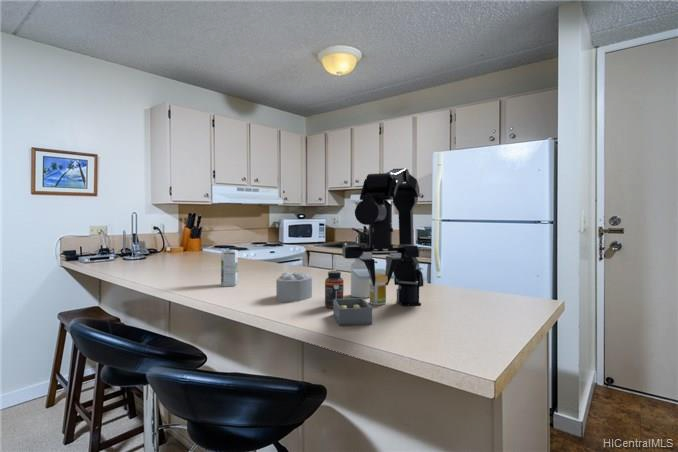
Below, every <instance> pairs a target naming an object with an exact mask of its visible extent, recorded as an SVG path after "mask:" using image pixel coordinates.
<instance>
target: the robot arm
mask: <svg viewBox="0 0 678 452" xmlns="http://www.w3.org/2000/svg"><path fill="white" fill-rule="evenodd" d="M420 193H421V192H420V185H419V183H418V180H417V178H415V176H413V175H412V174H411V173H410V172H409V169H408V168H405V167H403V168H393V169H391V170H389V171H387V172H385V173H384V172H383V173H382V172H381V173H368V174H367V175H366V177H365V179H364V181H363V185H362V188H361V191H360V195H359V200H360V201H359V203H357V204H356V207H355V209H354V216H355V219H356V220H357V221H358V222H359V223H360V224H362V225H365V226H368V229H367V230H368V232H366V231H359V232H358V233H357V235H358V236H357V242H358V244H344V245H343V246H342V248H341V257H343V258H344V259H347V260H349V259H354V260H355V258H359V260H361V261H362V262H364V263H365V265H366V267H367V269H368V272H369V276H370V279H371V282H372V285H373V286H375V269H376V265H375V259H374V258H373V256H380V255H381V256H383V255H384V256H385V264H386V265H385V270H386V273H385V275H387V276H388V283H385V285H386V286H388V285H389V283H390V281H391V280H392V279H391V276H392V274H393V275H394V276H395V279H393V282H394V283H393V284H394V286H397V288H396V302H397V304H399V305H401V306H403V307H406V306H421V305H422V303H421V302H420V288H421V287H424V275H423V272H422V269H421V268H420V261H419V260H418V258H420V249H419V247H418V245H415V243H414V215H413V214H414V209H415V207H416V205H417V204H418V201H419V197H420ZM393 205H394V208H396V211H397V212H398V235H399V236H398V237H399V238H398V240H399V241H398V243H399V244H398V245H397V247H396V246H395V247H393V246H394V244H393V237H392V236H393V233H394V228H393ZM361 246H365V247H361ZM386 255H387V256H386Z"/></svg>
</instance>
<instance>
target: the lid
mask: <svg viewBox="0 0 678 452" xmlns="http://www.w3.org/2000/svg"><path fill="white" fill-rule="evenodd" d="M352 273H353V274H354V275H355V276H356V277H357V278H358V279H359V280H366V279H370V276H369V272H368V269H352ZM385 273H386V268H375V283H388V276H387V275H385ZM394 279H395V276H394V273H393V274H392V276H391V279H390V280H394ZM388 284H389V283H388Z"/></svg>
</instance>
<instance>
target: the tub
mask: <svg viewBox="0 0 678 452" xmlns="http://www.w3.org/2000/svg"><path fill="white" fill-rule="evenodd" d="M332 309H333V312H332V313H333V316H334V318H335V321H336V322H337V324H338V326H339V327H344V326H345V327H347V326H348V327H350V326H365V325H366V326H367V325H373V307H372V306H371V305H370V304H369V303H368V302H367V301H366V300H365V298H357V297H353V298H343V299H333V308H332Z"/></svg>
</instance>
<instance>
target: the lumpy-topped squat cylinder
mask: <svg viewBox="0 0 678 452" xmlns="http://www.w3.org/2000/svg"><path fill="white" fill-rule="evenodd" d="M275 289H276V301H277V302H280V303H281V302H282V303H293V302H294V303H295V301H296V302H301V301H305V300H308V299H311V298H312V297H313V277H312V276H311V275H308V274H307V273H305V272H298V271H297V272H293V273H292V274H290V273H289V272H288V271H287V272H283V273H282V274H281V276H279V277H278V278H276V288H275Z"/></svg>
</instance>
